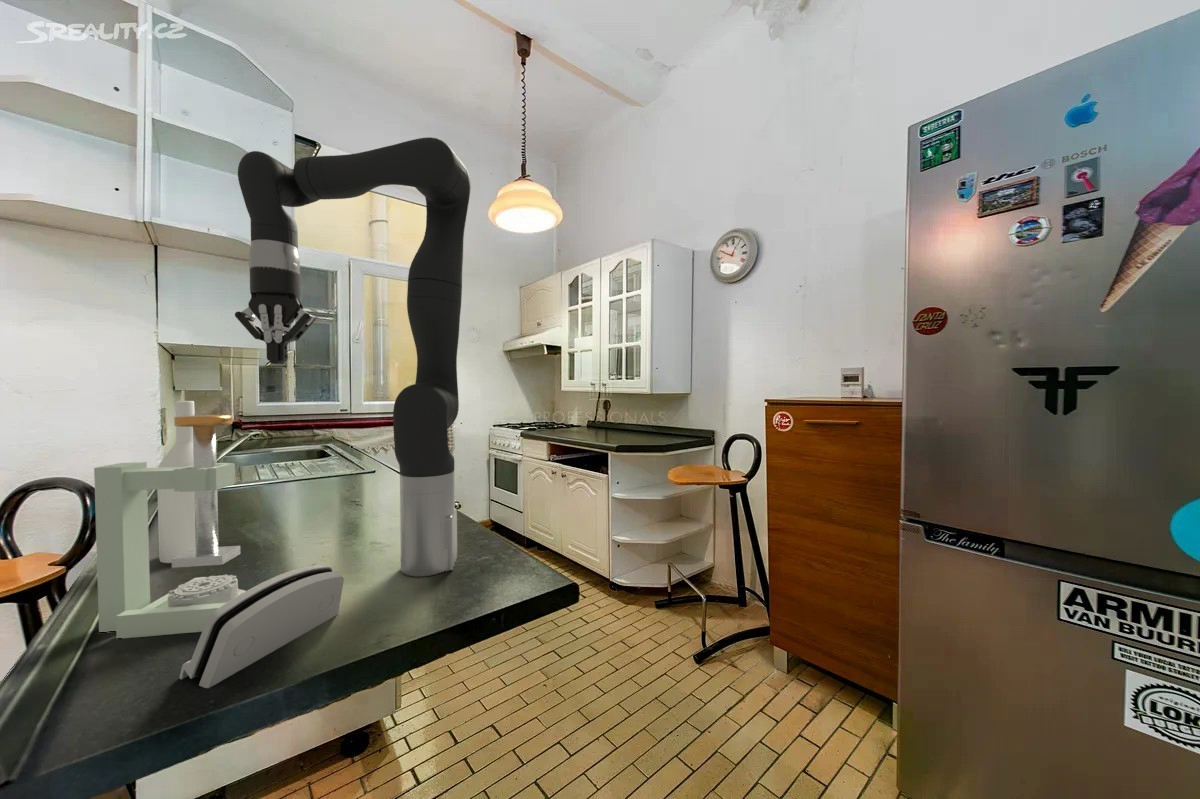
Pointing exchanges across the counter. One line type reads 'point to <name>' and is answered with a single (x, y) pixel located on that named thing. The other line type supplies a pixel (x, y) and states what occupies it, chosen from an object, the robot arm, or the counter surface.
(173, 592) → the mechanical component
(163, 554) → the bottle
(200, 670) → the grey curved housing
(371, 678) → the counter surface
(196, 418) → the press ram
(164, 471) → the frame
